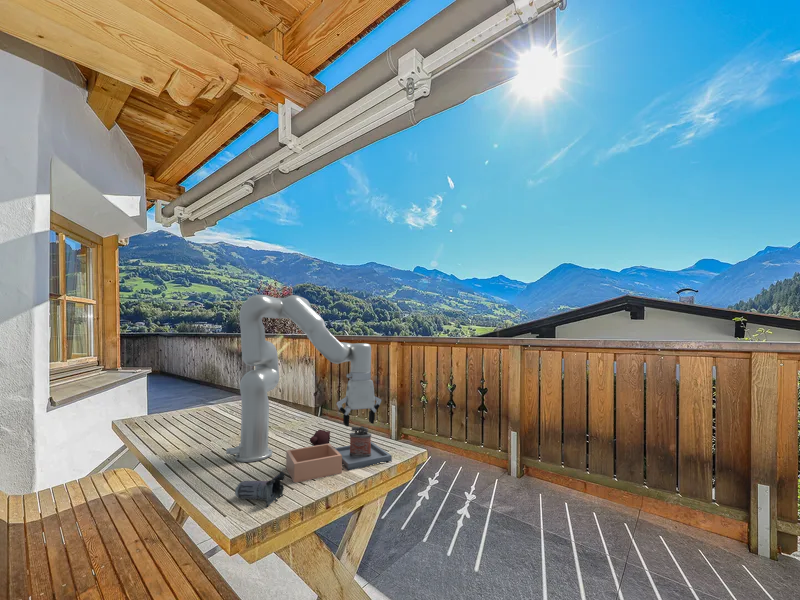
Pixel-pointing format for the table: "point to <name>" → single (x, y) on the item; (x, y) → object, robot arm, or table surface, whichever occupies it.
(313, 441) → the icecream
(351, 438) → the lighter
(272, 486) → the dark blue piece
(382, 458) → the tray
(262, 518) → the table surface
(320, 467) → the pink open box
